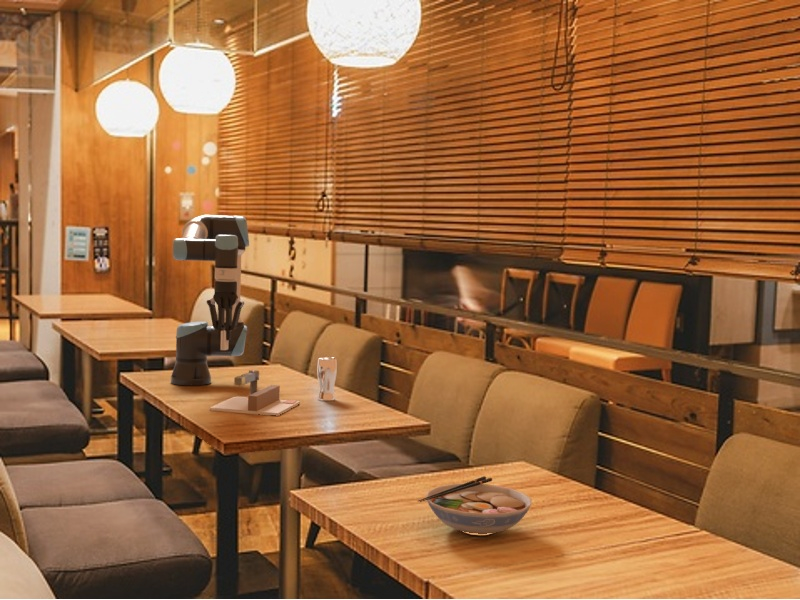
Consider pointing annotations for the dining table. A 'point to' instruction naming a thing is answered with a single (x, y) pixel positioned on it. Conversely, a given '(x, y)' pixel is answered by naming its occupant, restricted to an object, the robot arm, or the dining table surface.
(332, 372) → the beer glass
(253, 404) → the lock base
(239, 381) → the swing bar
